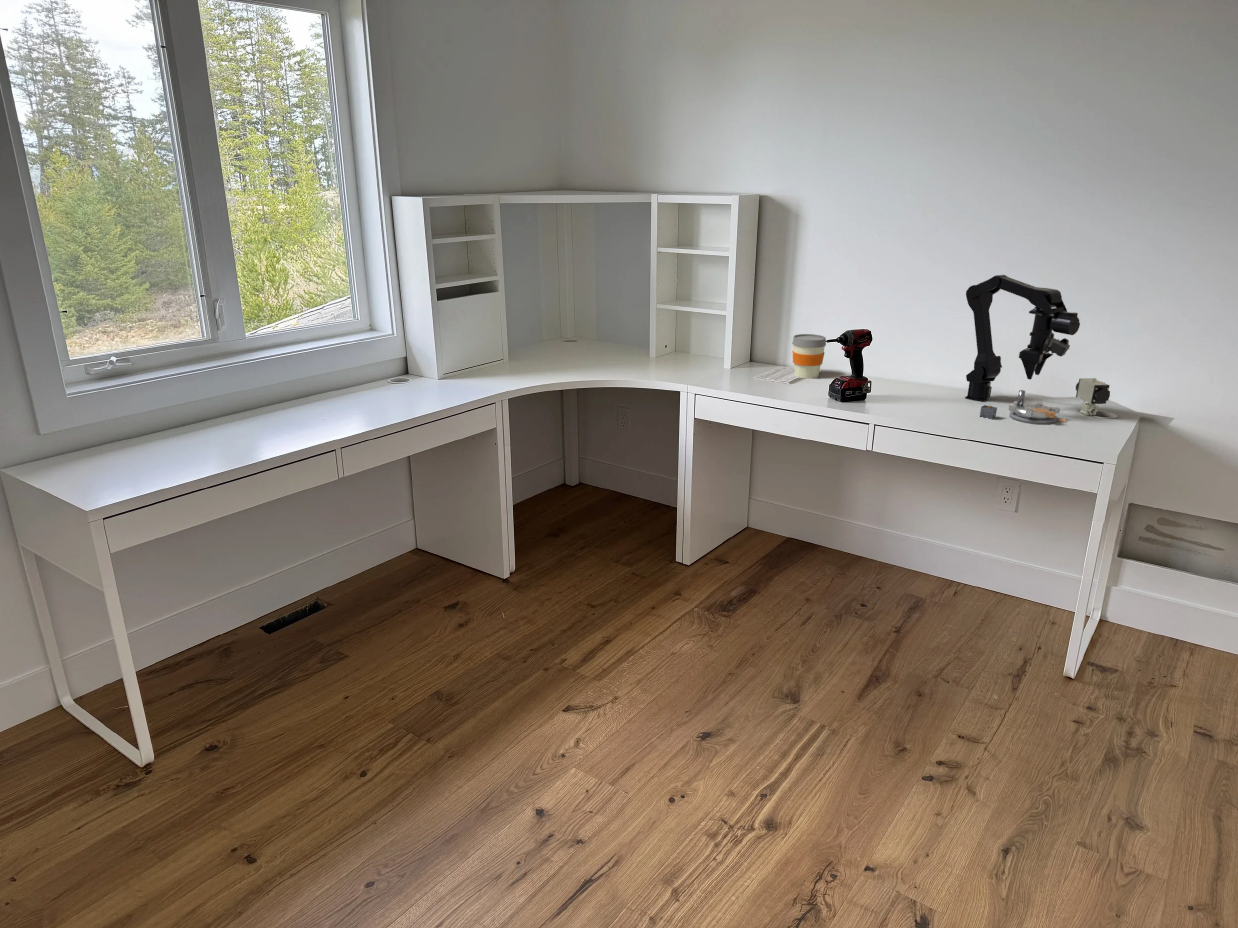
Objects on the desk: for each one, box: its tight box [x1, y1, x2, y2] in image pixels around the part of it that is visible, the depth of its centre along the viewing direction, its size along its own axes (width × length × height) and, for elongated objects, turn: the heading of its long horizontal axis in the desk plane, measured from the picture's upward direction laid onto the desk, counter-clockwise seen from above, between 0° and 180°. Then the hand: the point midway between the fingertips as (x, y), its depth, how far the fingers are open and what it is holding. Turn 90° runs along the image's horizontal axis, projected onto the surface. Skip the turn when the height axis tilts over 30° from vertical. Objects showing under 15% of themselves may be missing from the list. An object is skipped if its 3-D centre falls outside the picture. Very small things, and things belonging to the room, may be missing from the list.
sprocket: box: [1008, 389, 1061, 420], centre depth 265 cm, size 14×15×7 cm
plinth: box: [1009, 411, 1067, 425], centre depth 266 cm, size 16×14×1 cm
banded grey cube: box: [979, 404, 998, 420], centre depth 267 cm, size 4×3×4 cm
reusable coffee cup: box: [791, 333, 827, 379], centre depth 317 cm, size 13×13×15 cm
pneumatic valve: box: [1075, 377, 1111, 416], centre depth 270 cm, size 6×12×12 cm, turn 4°
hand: (1033, 377), depth 270 cm, fingers open, 8 cm apart
